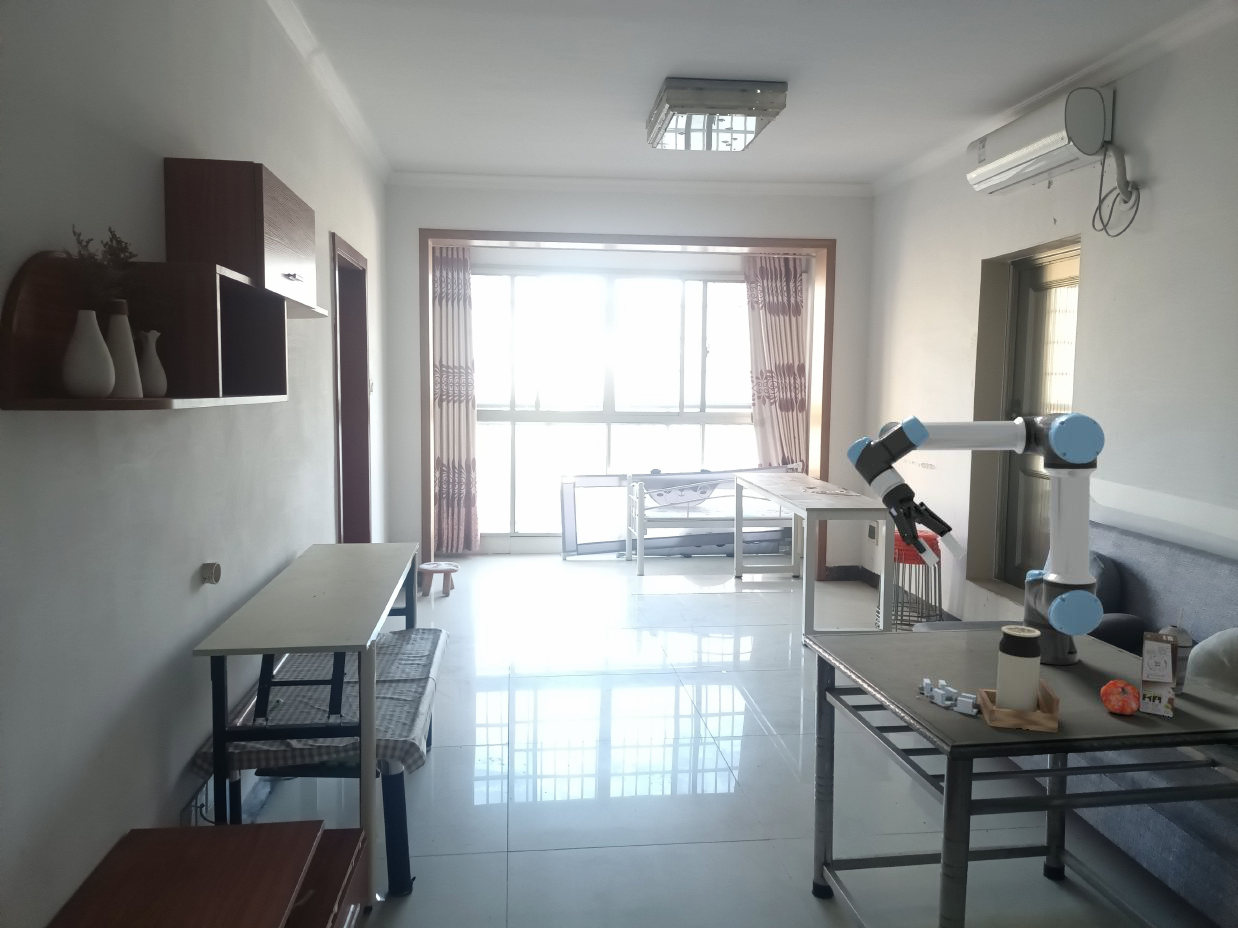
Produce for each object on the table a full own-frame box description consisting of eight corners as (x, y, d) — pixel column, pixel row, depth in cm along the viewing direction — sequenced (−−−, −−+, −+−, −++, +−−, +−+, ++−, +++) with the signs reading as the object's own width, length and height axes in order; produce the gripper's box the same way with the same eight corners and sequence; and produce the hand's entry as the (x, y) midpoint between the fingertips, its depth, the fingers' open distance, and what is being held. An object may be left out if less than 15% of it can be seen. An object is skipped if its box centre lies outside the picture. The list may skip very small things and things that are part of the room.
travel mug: (1041, 721, 175) (1047, 636, 174) (1000, 717, 176) (1006, 633, 175) (1029, 707, 183) (1035, 626, 181) (991, 704, 184) (996, 623, 183)
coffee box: (1173, 717, 181) (1179, 644, 180) (1138, 711, 185) (1143, 639, 183) (1172, 705, 189) (1177, 634, 188) (1139, 699, 192) (1143, 630, 191)
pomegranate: (1095, 715, 188) (1098, 699, 181) (1102, 685, 191) (1105, 668, 184) (1134, 726, 184) (1139, 710, 177) (1140, 695, 187) (1144, 678, 180)
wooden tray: (1040, 709, 184) (1042, 678, 184) (1057, 732, 172) (1059, 698, 171) (977, 703, 187) (979, 673, 187) (988, 725, 175) (990, 692, 174)
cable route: (971, 693, 194) (972, 681, 194) (983, 715, 180) (983, 702, 180) (916, 688, 197) (917, 676, 196) (924, 709, 183) (924, 697, 183)
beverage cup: (1150, 683, 204) (1156, 602, 202) (1186, 688, 200) (1192, 606, 199) (1154, 692, 197) (1160, 608, 195) (1191, 698, 194) (1198, 612, 192)
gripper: (908, 497, 220) (961, 563, 210) (856, 504, 204) (911, 576, 194) (928, 478, 216) (983, 544, 206) (876, 484, 199) (933, 556, 189)
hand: (948, 560), depth 200 cm, fingers open, 13 cm apart
